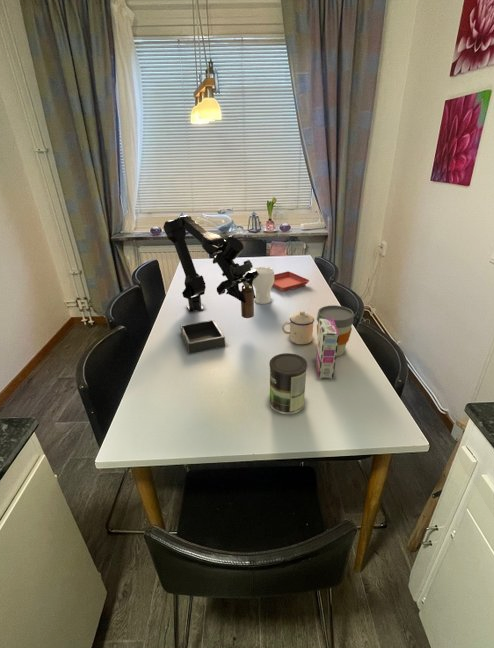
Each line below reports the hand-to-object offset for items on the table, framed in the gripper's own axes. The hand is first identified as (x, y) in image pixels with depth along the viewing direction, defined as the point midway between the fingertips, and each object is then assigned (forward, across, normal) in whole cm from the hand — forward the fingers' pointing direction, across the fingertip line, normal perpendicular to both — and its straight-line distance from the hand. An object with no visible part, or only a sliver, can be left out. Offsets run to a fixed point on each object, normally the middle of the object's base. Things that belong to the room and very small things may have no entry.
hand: (249, 300), depth 134 cm
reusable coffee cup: (+32, +8, -14) cm, 36 cm away
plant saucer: (-5, +50, +24) cm, 56 cm away
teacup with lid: (+22, +7, -4) cm, 24 cm away
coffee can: (+36, -26, -18) cm, 48 cm away
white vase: (-2, +27, +21) cm, 34 cm away
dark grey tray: (+3, -17, +16) cm, 24 cm away
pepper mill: (+4, 0, +6) cm, 7 cm away
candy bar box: (+36, -4, -17) cm, 40 cm away
